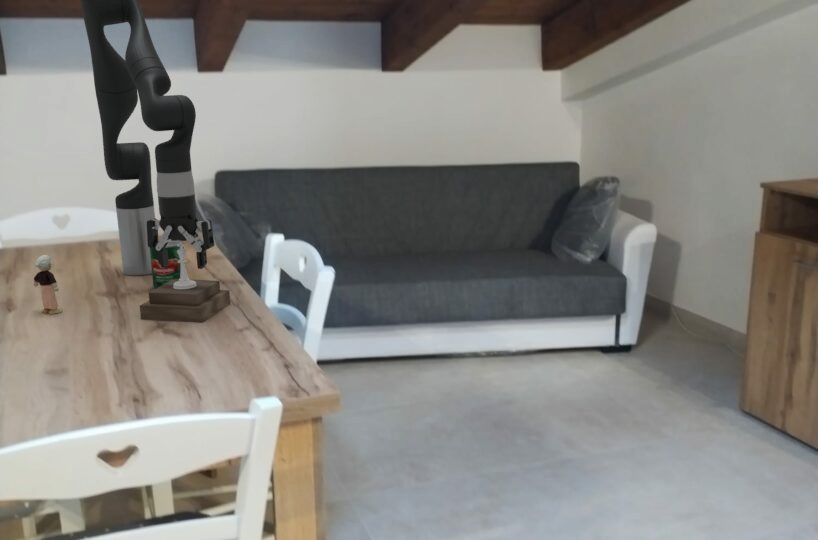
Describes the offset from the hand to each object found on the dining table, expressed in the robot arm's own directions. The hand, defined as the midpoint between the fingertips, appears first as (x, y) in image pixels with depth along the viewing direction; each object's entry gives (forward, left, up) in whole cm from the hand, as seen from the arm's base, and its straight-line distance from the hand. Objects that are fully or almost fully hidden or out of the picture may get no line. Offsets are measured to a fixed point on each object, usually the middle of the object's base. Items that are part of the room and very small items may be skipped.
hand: (183, 267), depth 171 cm
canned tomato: (-17, -13, -10) cm, 24 cm away
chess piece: (0, 0, -4) cm, 4 cm away
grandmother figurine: (+5, -30, -10) cm, 32 cm away
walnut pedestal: (0, 0, -10) cm, 10 cm away
